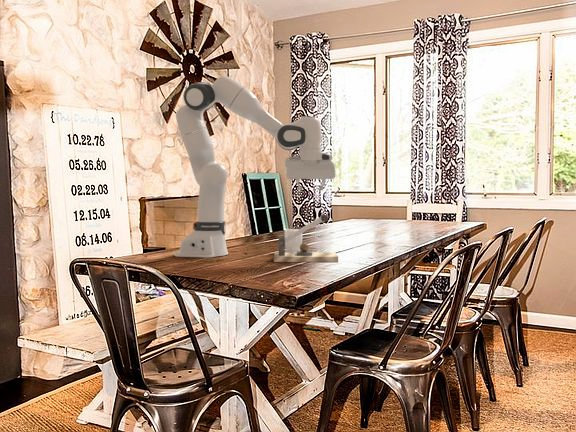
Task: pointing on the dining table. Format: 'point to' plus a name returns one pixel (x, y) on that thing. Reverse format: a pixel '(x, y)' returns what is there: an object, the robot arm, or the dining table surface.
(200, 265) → the dining table surface
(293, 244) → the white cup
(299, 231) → the lever
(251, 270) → the dining table surface
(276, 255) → the nutcracker base
